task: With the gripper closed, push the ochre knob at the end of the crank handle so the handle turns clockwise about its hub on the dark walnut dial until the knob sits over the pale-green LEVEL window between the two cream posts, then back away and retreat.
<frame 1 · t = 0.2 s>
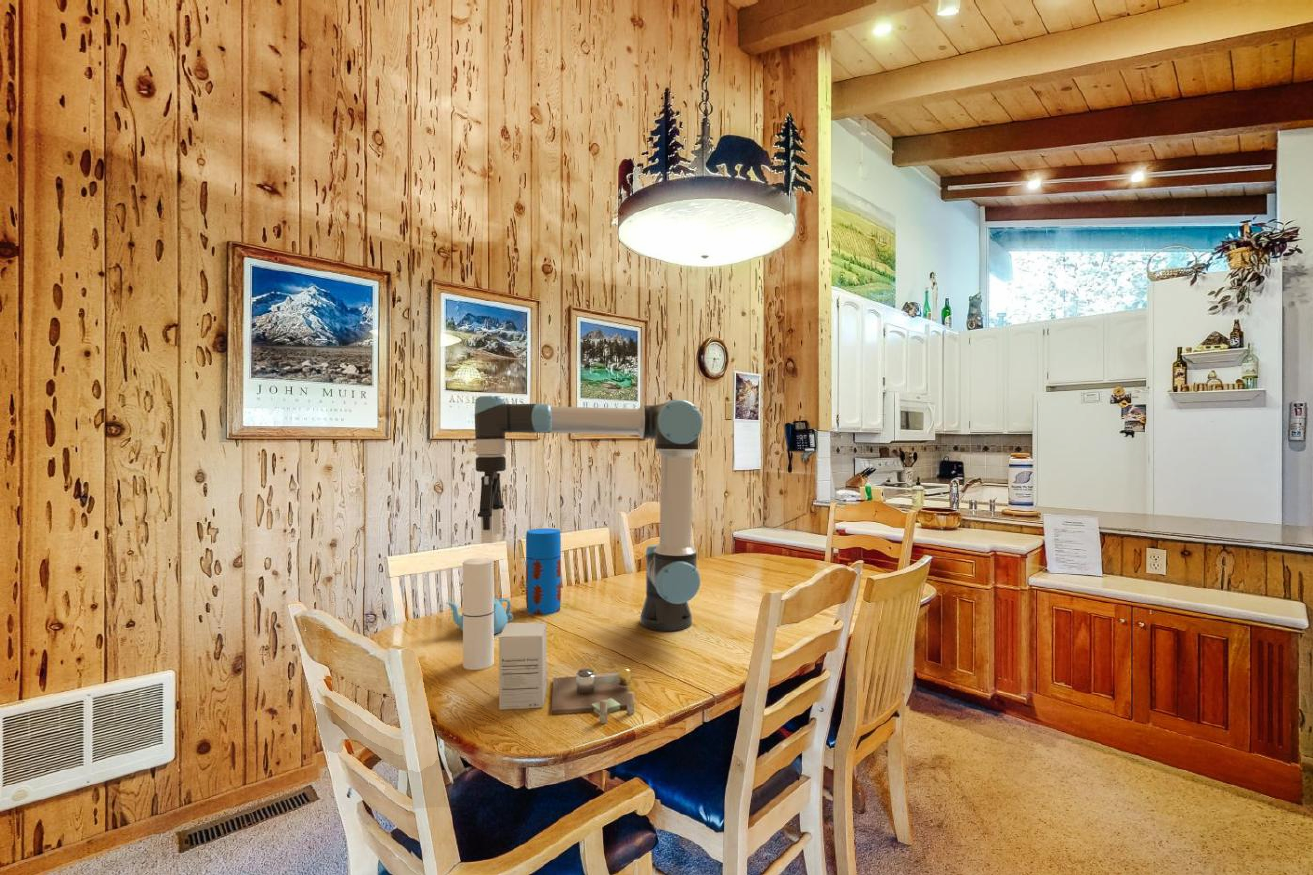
hand: (491, 538, 155), 29 cm above the table, fingers open, 13 cm apart
thermos: (543, 610, 189), on the table
crank handle: (603, 679, 128), point 3 cm above the table, hinge at 0.0°
teapot: (480, 632, 169), on the table
cylindrical container: (478, 665, 145), on the table
supplement box: (523, 700, 125), on the table
dial board: (590, 694, 128), on the table
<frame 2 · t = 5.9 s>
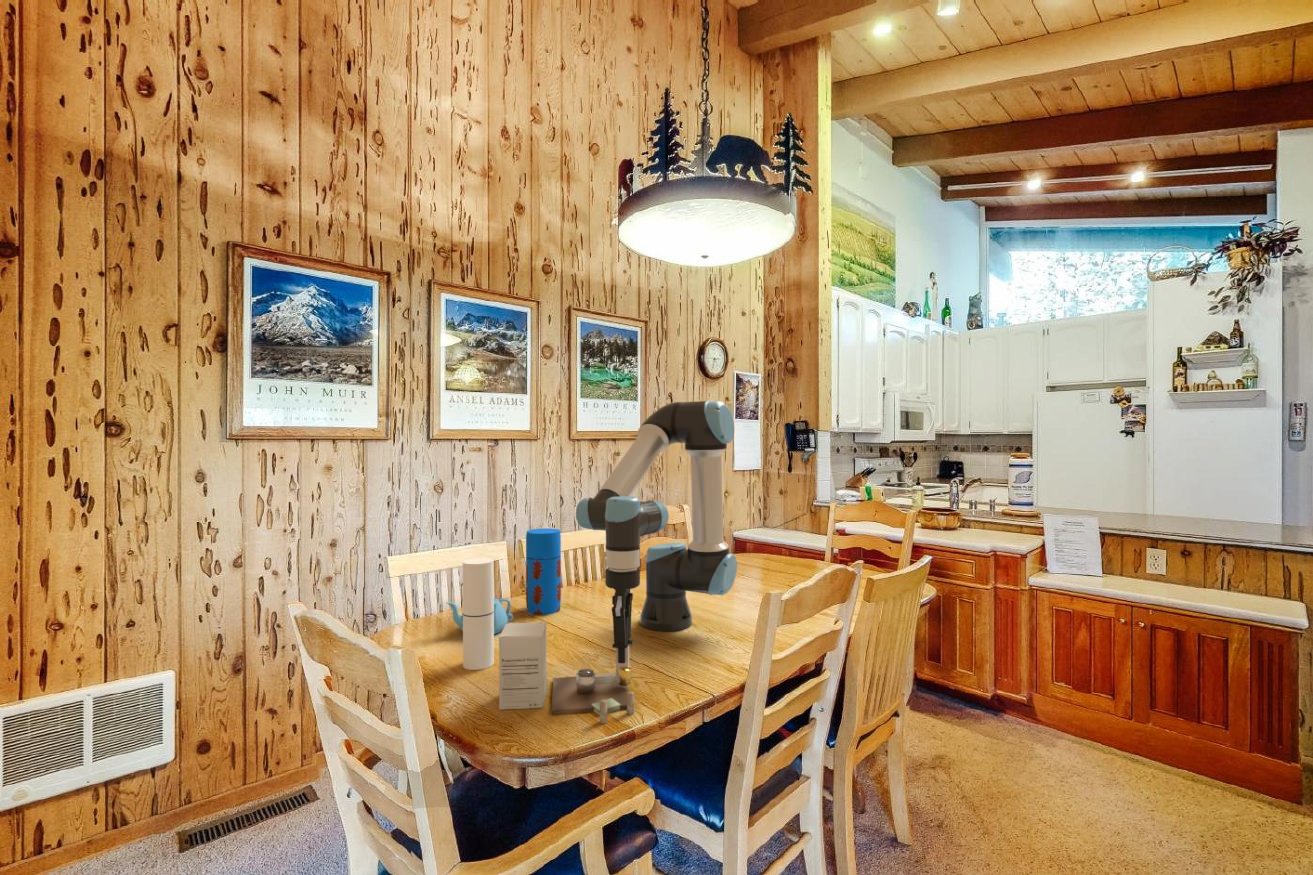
hand: (622, 675, 131), 3 cm above the table, fingers closed
crank handle: (603, 679, 128), point 3 cm above the table, hinge at -0.2°, touching gripper
everything else where it was.
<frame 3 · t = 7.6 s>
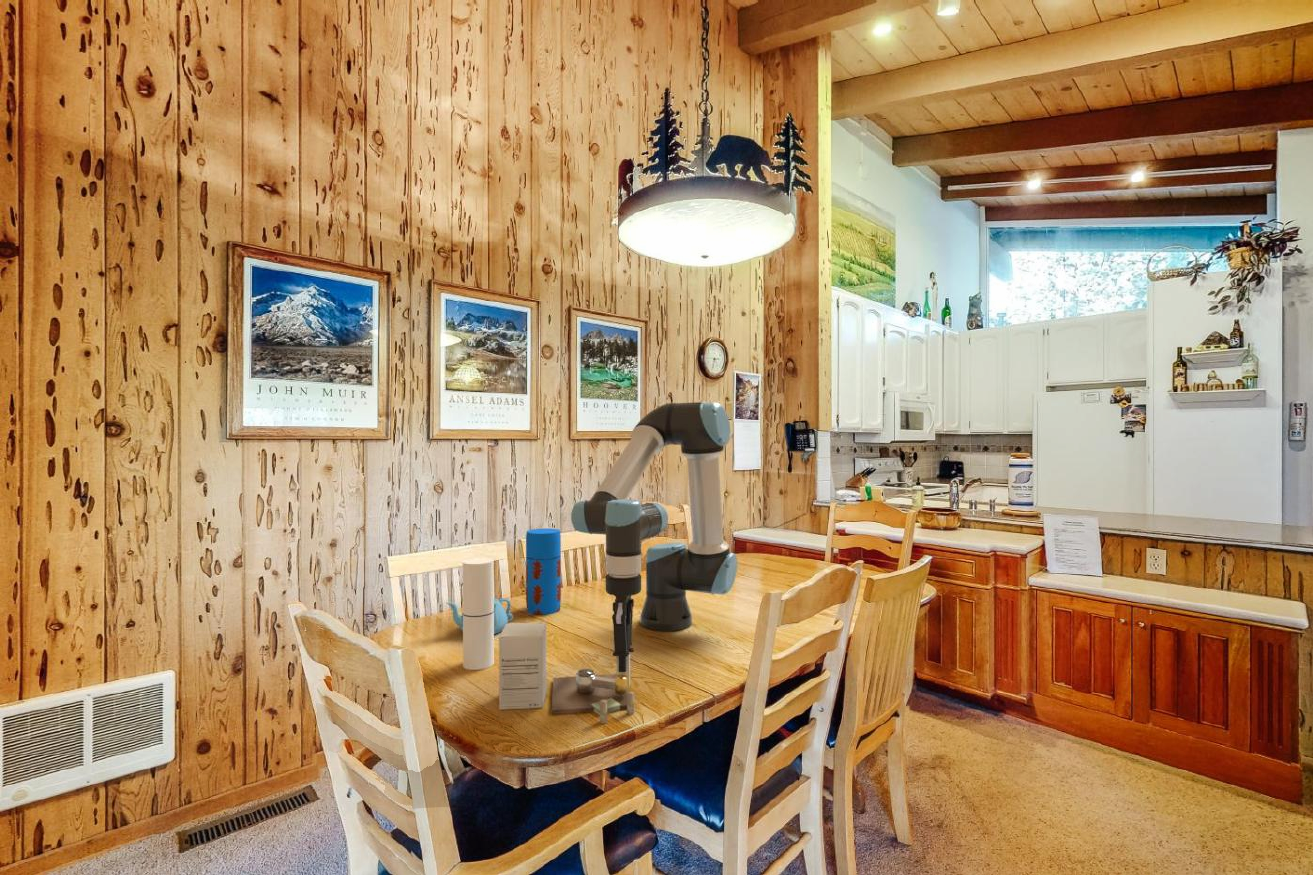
hand: (623, 684, 126), 3 cm above the table, fingers closed
crank handle: (601, 682, 126), point 3 cm above the table, hinge at -30.5°, touching gripper
everything else where it was.
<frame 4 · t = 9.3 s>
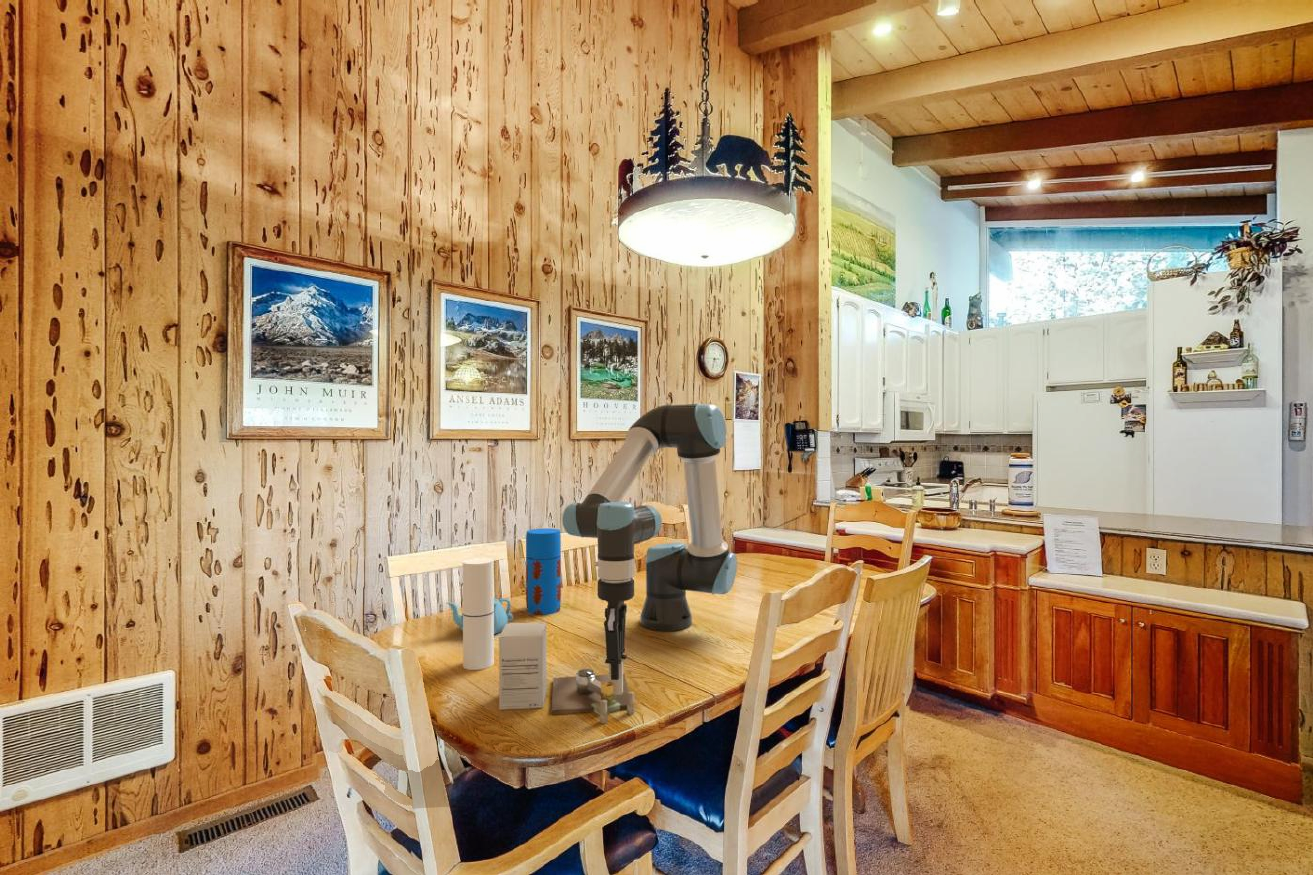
hand: (616, 692, 123), 2 cm above the table, fingers closed
crank handle: (595, 686, 125), point 3 cm above the table, hinge at -60.8°
everything else where it was.
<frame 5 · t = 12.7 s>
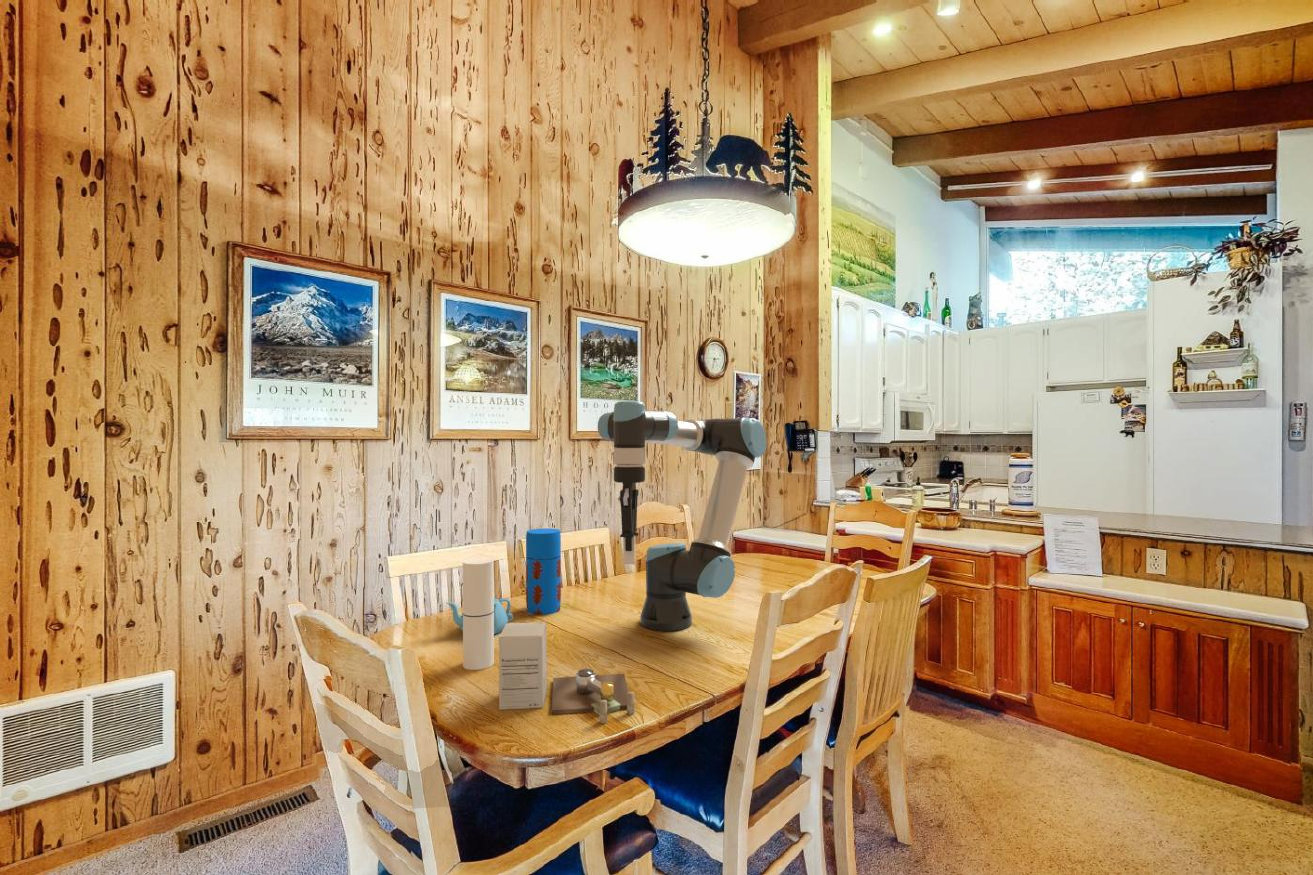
hand: (629, 563, 144), 24 cm above the table, fingers closed
nothing on the table moved.
at the end: crank handle at -61° (first picture: +0°) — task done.
